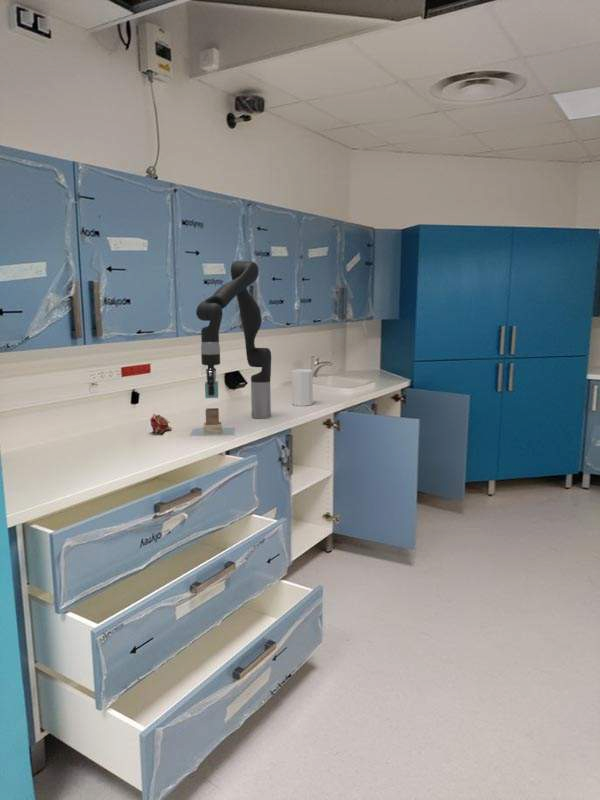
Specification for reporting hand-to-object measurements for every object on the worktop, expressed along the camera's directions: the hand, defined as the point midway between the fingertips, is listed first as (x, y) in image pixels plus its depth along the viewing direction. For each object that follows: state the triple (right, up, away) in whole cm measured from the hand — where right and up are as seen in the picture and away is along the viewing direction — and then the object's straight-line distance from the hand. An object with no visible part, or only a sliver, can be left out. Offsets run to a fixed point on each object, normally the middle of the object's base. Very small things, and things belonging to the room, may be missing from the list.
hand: (211, 394), depth 237 cm
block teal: (0, -1, 0) cm, 1 cm away
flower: (-23, -17, +8) cm, 29 cm away
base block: (0, -16, +3) cm, 16 cm away
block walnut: (0, -12, +2) cm, 12 cm away
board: (0, -17, +5) cm, 18 cm away
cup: (+38, -5, +75) cm, 84 cm away
